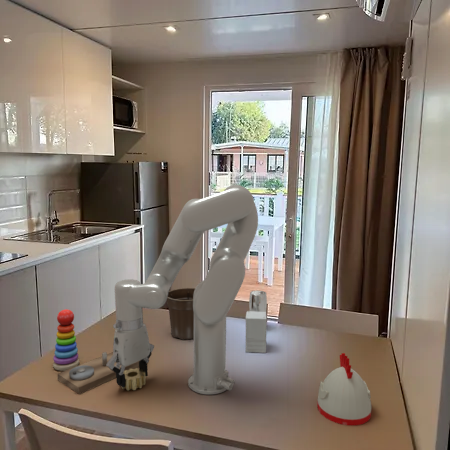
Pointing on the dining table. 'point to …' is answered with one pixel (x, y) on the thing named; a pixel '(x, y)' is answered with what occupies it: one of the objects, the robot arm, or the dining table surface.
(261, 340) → the supplement box
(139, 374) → the brass gear
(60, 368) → the stacking toy
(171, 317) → the plant pot
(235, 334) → the dining table surface
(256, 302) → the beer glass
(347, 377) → the kitchen timer
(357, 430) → the dining table surface
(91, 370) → the gear board
